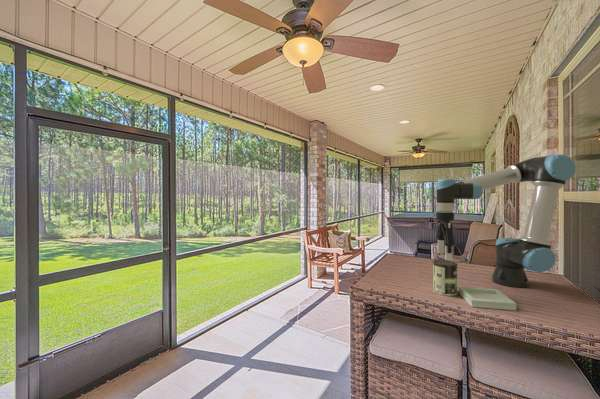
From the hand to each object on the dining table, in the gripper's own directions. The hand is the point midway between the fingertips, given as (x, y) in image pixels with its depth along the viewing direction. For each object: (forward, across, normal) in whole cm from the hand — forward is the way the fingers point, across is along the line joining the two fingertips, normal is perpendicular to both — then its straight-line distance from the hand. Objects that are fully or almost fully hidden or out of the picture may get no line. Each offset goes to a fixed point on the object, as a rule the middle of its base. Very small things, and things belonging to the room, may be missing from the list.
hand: (444, 256), depth 130 cm
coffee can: (+17, 0, 0) cm, 17 cm away
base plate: (+17, +8, +14) cm, 23 cm away
